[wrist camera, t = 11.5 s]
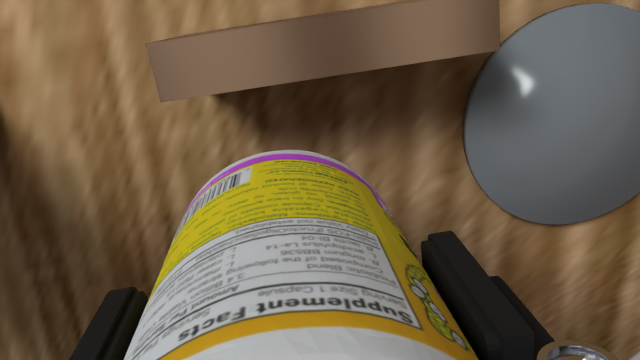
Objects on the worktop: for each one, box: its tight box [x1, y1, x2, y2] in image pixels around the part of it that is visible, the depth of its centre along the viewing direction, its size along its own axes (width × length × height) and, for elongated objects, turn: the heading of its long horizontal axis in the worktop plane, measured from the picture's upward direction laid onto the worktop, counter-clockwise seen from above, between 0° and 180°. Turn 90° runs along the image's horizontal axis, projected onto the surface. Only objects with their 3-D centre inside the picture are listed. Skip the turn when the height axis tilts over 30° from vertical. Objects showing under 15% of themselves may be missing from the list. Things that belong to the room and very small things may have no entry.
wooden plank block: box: [146, 0, 500, 102], centre depth 19 cm, size 12×2×6 cm, turn 98°
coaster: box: [462, 3, 640, 225], centre depth 24 cm, size 11×11×1 cm
